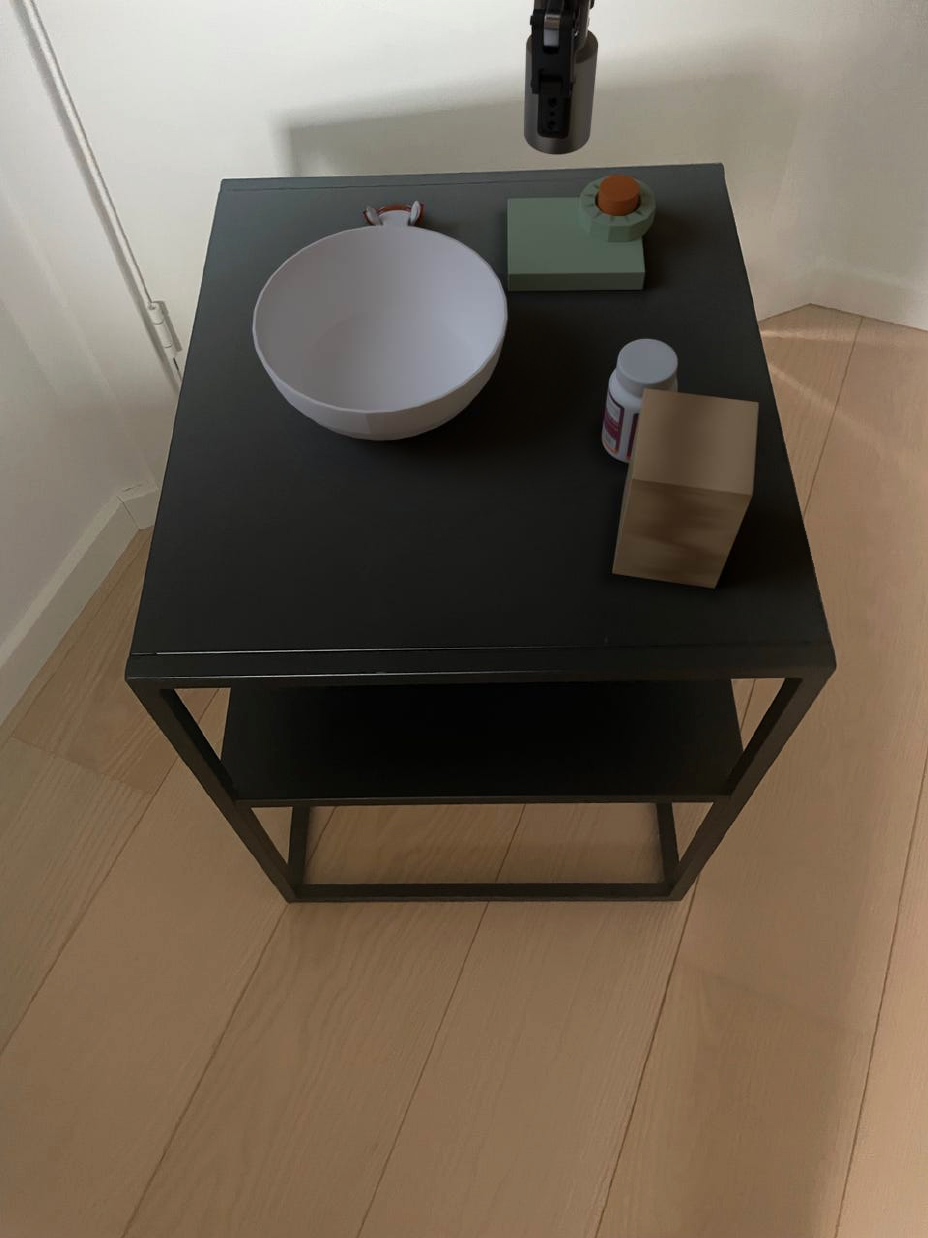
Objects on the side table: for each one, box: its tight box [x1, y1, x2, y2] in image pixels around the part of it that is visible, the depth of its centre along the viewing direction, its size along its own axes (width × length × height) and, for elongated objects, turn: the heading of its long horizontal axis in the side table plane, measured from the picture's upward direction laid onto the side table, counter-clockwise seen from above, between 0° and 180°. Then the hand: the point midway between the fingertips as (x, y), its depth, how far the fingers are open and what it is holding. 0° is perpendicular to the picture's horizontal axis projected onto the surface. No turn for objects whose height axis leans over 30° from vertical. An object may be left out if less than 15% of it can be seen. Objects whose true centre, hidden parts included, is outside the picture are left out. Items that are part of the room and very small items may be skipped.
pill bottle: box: [601, 338, 679, 464], centre depth 67 cm, size 5×5×8 cm
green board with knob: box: [506, 175, 657, 292], centre depth 79 cm, size 12×10×4 cm
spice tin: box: [523, 25, 599, 156], centre depth 66 cm, size 5×5×6 cm
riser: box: [612, 388, 760, 589], centre depth 62 cm, size 7×7×11 cm
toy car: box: [362, 200, 425, 227], centre depth 80 cm, size 5×8×3 cm, turn 2°
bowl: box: [252, 225, 509, 441], centre depth 71 cm, size 18×18×7 cm
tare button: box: [598, 174, 639, 216], centre depth 78 cm, size 3×3×2 cm
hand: (558, 108), depth 68 cm, fingers closed on spice tin, 4 cm apart
